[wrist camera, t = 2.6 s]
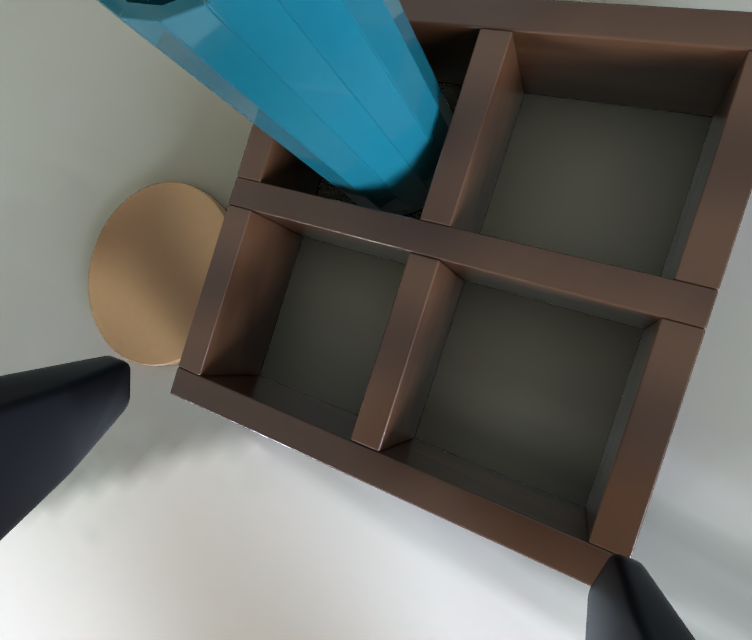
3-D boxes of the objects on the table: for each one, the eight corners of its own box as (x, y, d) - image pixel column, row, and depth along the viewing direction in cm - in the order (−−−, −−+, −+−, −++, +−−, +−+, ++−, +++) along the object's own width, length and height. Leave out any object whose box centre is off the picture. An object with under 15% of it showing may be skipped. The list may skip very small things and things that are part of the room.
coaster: (208, 391, 24) (199, 392, 24) (77, 334, 27) (67, 333, 27) (266, 206, 24) (259, 202, 23) (128, 170, 27) (118, 166, 27)
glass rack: (609, 552, 18) (617, 599, 14) (232, 390, 24) (168, 393, 20) (759, 90, 17) (809, 13, 14) (340, 45, 23) (296, -17, 20)
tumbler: (437, 229, 21) (249, 32, 9) (325, 202, 23) (47, 10, 11) (477, 102, 21) (343, -271, 9) (362, 86, 23) (122, -236, 11)
